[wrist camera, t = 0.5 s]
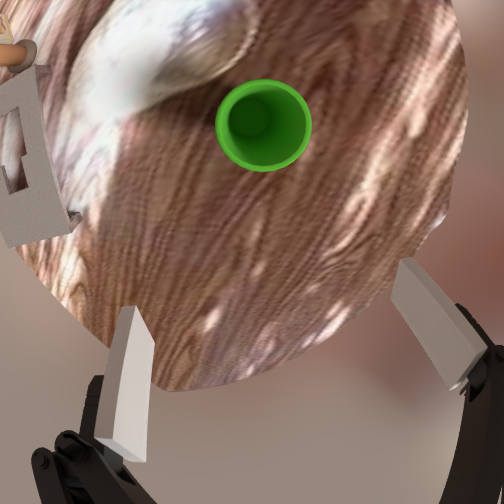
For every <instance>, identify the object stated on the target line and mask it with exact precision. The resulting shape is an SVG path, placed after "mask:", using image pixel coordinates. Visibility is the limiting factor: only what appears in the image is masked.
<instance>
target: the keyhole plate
mask: <svg viewBox="0 0 504 504" xmlns="http://www.w3.org/2000/svg"><path fill="white" fill-rule="evenodd" d="M49 74H51V66H44V65H34V66H32V67H30V68H28V69H26V70H25V71H23V72H21V73H19V74H18V75H16V76H14V77H13V78H11V79H9V80H8V81H6V82H5V83H3V84H2V85H0V117H2V116H4V115H5V114H7V113H9V112H10V111H12V110H14V109H16V108H18V107H19V113H20V119H21V126H22V131H23V137H24V142H25V146H26V151H27V154H26V155H24V156H22V157H21V160H22V164H23V168H24V172H25V176H26V179H27V183H28V186H29V187H27V188H24V189H22V190H19V191H17V192H14V193H12V191H11V188H10V185H9V181H8V177H7V174H6V170H5V166H4V165H3V166H1V167H0V229H1V232H2V234H3V237H4V239H5V242H6V244H7V246H8V248H12V247H16V246H20V245H24V244H28V243H32V242H36V241H40V240H44V239H48V238H52V237H56V236H61V235H65V234H70V233H72V232H73V230H74V229H75V228H76V227H77V226H78V224H79V223H80V222H81V221H82V220H83V219H82V216H81V213H80V212H79V213H75V214H71V215H68V213H67V210H66V207H65V204H64V201H63V197H62V194H61V191H60V187H59V184H58V180H57V176H56V172H55V169H54V165H53V160H52V156H51V152H50V147H49V143H48V138H47V132H46V127H45V121H44V115H43V109H42V102H41V94H40V84H39V79H41V78H43V77H45V76H47V75H49Z"/></svg>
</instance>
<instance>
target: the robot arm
mask: <svg viewBox="0 0 504 504" xmlns="http://www.w3.org/2000/svg"><path fill="white" fill-rule="evenodd" d="M390 300H391V301H392V302H393V304H394V305H395V307H396V308H397V309H398V311H399V312H400V314H401V315H402V316H403V318H404V319H405V321H406V322H407V324H408V325H409V327H410V328H411V330H412V331H413V333H414V334H415V336H416V337H417V339H418V340H419V342H420V343H421V345H422V346H423V348H424V350H425V351H426V353H427V354H428V356H429V357H430V359H431V361H432V362H433V364H434V365H435V367H436V369H437V370H438V372H439V374H440V375H441V377H442V378H443V380H444V382H445V384H446V385H447V387H448V389H449V390H452V389H454V388H455V387H457V386H459V385H461V383H462V382H463V381H464V380H465V378H466V377H467V378H468V380H469V381H468V382H467V384H466V385H465V386H464V387H463V389H462V390H461V391H460V395H461V394H462V393H463V392H464V391H465V390H466V393H465V394H464V396H465V403H464V410H463V416H462V421H461V427H460V432H459V437H458V442H457V446H456V450H455V455H454V459H453V462H452V466H451V469H450V473H449V476H448V479H447V482H446V485H445V488H444V491H443V494H442V497H441V500H440V502H439V504H497V503H498V499H499V495H500V491H501V488H502V498H501V504H504V346H502V345H495V344H494V343H493V342H492V341H491V339H490V338H489V337H488V336H487V334H486V333H485V332H484V330H483V329H482V328H481V326H480V325H479V324H477V322H476V320H475V319H474V318H472V315H471V314H470V313H469V312H468V310H467V309H465V308H464V307H463V306H461V305H460V304H458V303H457V304H454V303H453V302H452V301H451V300H450V299H449V298H448V296H447V295H446V294H445V293H444V292H443V291H442V290H441V288H439V286H438V285H437V284H436V283H435V282H434V281H433V279H432V278H431V277H430V276H429V275H428V274H427V273H426V272H425V271H424V270H423V269H422V268H421V267H420V266H419V264H418V263H416V261H415V260H414V259H413V258H412V257H408V258H404V259H400V262H399V266H398V271H397V275H396V279H395V283H394V288H393V291H392V295H391V298H390ZM154 345H155V343H154V341H153V339H152V337H151V335H150V333H149V331H148V329H147V327H146V325H145V323H144V321H143V319H142V317H141V315H140V313H139V311H138V308H137V306H136V305H135V306H127V307H122V308H121V311H120V315H119V318H118V322H117V326H116V329H115V333H114V337H113V341H112V345H111V349H110V353H109V357H108V362H107V366H106V371H105V375H95V376H94V378H93V379H92V381H91V382H90V384H89V386H88V391H87V395H86V396H87V398H86V400H85V406H84V410H83V415H82V420H81V426H80V432H79V434H77V433H76V432H74V431H72V430H66V431H64V432H61V433H60V435H58V436H57V438H56V441H55V452H51V451H50V450H48V449H46V448H43V447H42V448H38V449H36V450H35V451H34V453H33V455H32V458H31V464H32V469H33V473H34V477H35V481H36V485H37V489H38V493H39V496H40V499H41V503H42V504H157V503H156V502H155V501H154V500H153V499H152V498H151V497H150V495H149V494H148V493H147V492H146V491H145V490H144V489H143V487H142V486H141V485H140V484H139V483H138V482H137V480H136V479H135V478H134V477H133V475H132V474H131V473H130V472H129V470H128V469H127V468H126V466H124V465H123V458H125V459H126V460H128V461H133V462H146V445H147V422H148V406H149V393H150V382H151V372H152V362H153V353H154Z"/></svg>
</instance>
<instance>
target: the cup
mask: <svg viewBox="0 0 504 504" xmlns="http://www.w3.org/2000/svg"><path fill="white" fill-rule="evenodd" d="M311 128H312V121H311V115H310V111H309V109H308V106H307V104H306V102H305V101H304V99H303V98H302V97H301V95H300V94H299V93H298V92H297V91H296V90H294V89H293V88H292V87H291V86H289V85H287V84H285V83H283V82H280V81H277V80H272V79H254V80H251V81H247V82H244V83H242V84H240V85H239V86H237V87H235V88H234V89H232V90H231V91H230V92H229V93H228V94H227V95H226V96H225V97H224V99H223V101H222V102H221V104H220V106H219V107H218V111H217V114H216V118H215V133H216V137H217V141H218V143H219V145H220V147H221V149H222V151H223V152H224V153H225V154H226V156H227V157H228V158H229V159H230V160H231V161H233V162H234V163H236V164H237V165H239V166H240V167H243V168H245V169H248V170H251V171H259V172H267V171H274V170H277V169H280V168H283V167H285V166H287V165H289V164H290V163H292V162H294V161H295V160H296V159H297V158H298V157H299V156H300V155H301V154H302V152H303V151H304V149H305V147H306V146H307V144H308V141H309V138H310V135H311Z"/></svg>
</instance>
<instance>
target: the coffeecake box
mask: <svg viewBox="0 0 504 504" xmlns="http://www.w3.org/2000/svg"><path fill="white" fill-rule="evenodd" d="M13 41H14V40H13V36H12V33H11V30H10V26H9V21H8V17H7V15H4V14H0V44H11V43H12V42H13Z"/></svg>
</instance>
